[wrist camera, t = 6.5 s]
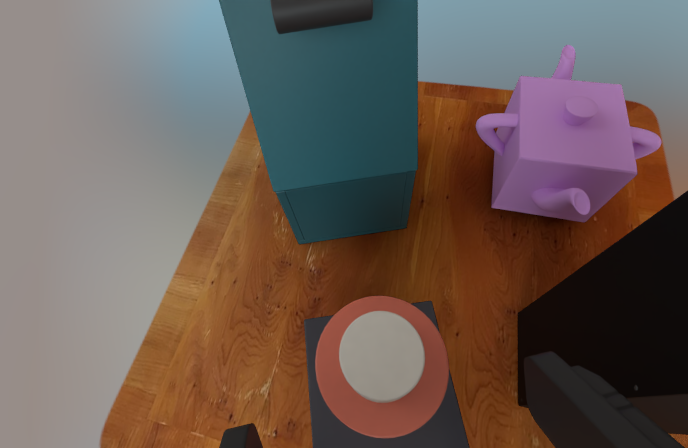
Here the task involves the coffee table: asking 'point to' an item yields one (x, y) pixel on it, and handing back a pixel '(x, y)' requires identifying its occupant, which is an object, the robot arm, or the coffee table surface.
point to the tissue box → (624, 318)
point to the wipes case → (349, 207)
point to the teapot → (563, 145)
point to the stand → (346, 444)
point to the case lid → (329, 86)
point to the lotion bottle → (382, 367)
